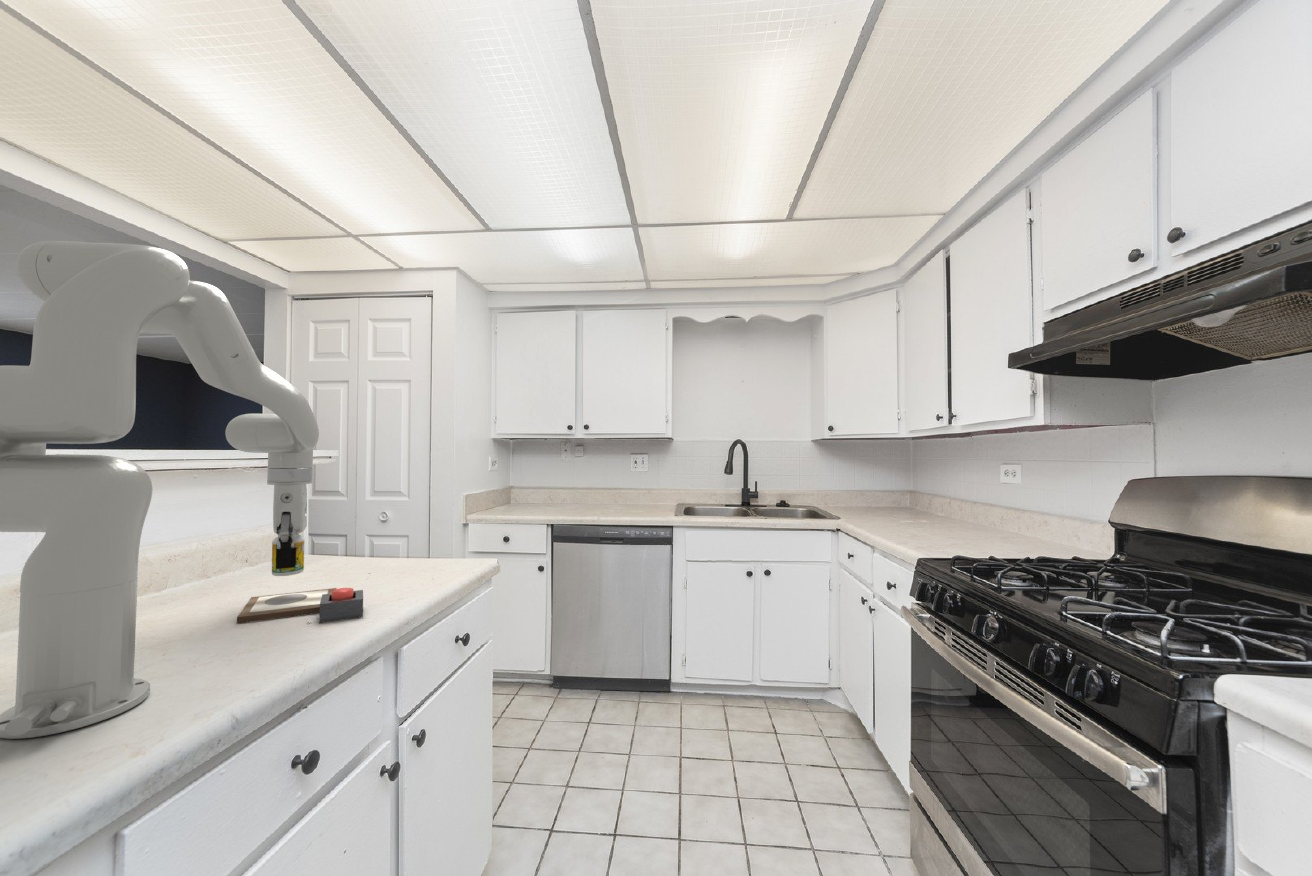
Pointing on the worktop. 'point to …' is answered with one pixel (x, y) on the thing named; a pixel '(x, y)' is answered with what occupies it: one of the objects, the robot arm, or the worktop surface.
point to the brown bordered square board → (282, 605)
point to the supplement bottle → (299, 557)
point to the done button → (342, 594)
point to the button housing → (341, 607)
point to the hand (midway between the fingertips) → (287, 563)
